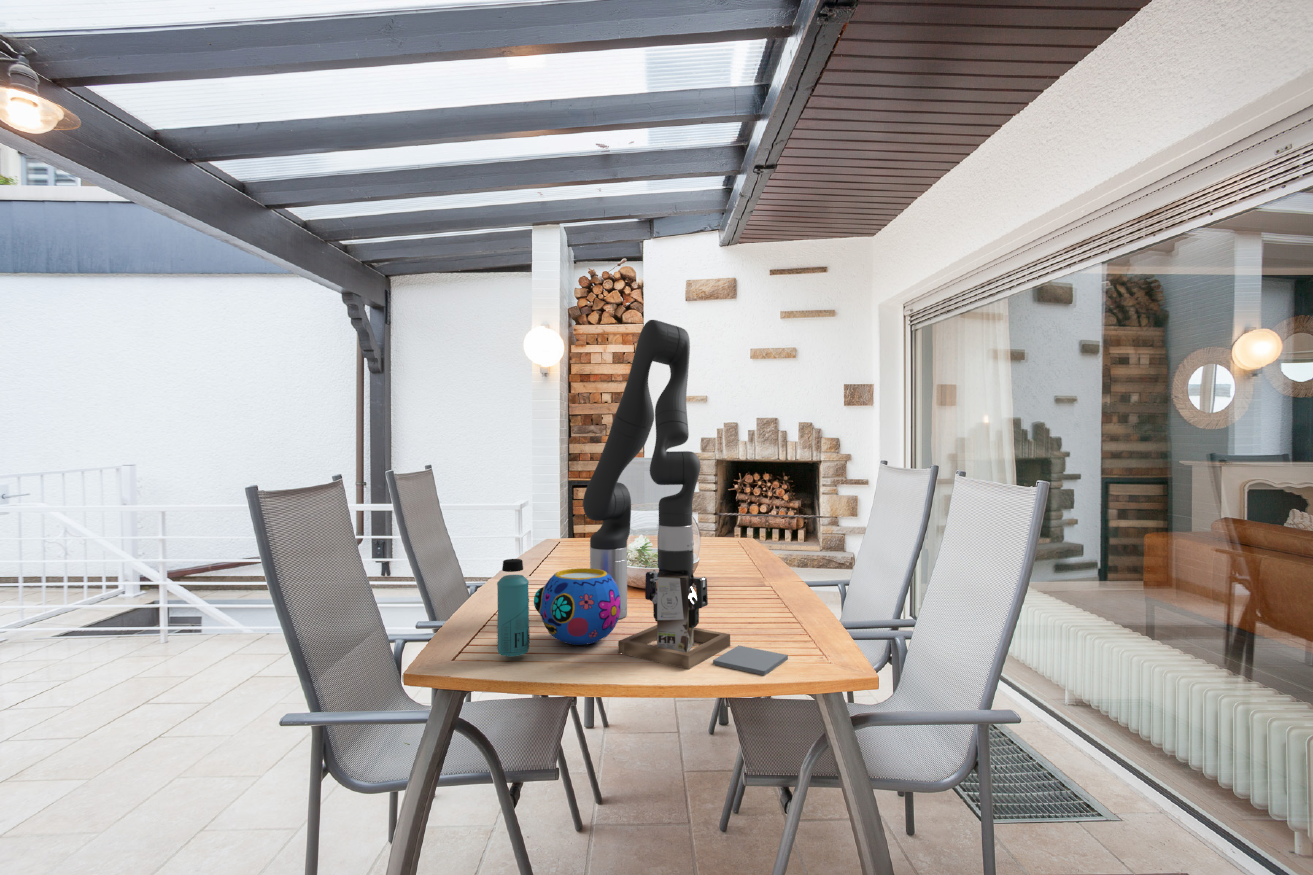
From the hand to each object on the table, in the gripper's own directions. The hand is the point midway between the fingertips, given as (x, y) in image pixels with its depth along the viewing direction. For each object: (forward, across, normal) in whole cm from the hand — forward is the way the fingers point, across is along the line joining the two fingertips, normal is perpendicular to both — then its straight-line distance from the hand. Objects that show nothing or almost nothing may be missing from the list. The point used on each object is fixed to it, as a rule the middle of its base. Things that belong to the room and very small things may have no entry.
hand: (675, 623), depth 137 cm
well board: (+5, 0, 0) cm, 5 cm away
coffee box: (+6, 0, 0) cm, 6 cm away
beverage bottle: (+5, -24, -23) cm, 34 cm away
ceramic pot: (+6, -20, -7) cm, 22 cm away
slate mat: (+5, +16, +2) cm, 17 cm away
